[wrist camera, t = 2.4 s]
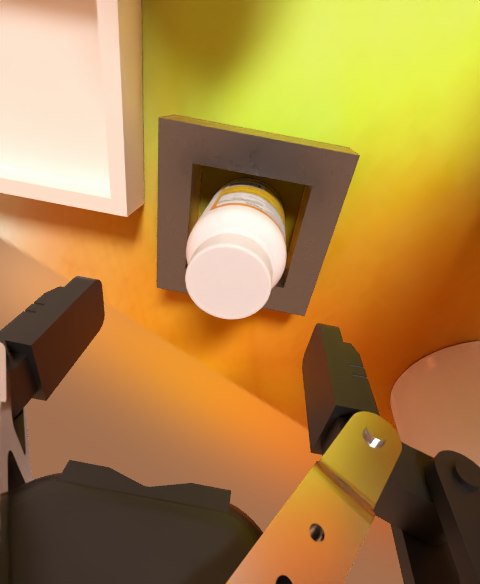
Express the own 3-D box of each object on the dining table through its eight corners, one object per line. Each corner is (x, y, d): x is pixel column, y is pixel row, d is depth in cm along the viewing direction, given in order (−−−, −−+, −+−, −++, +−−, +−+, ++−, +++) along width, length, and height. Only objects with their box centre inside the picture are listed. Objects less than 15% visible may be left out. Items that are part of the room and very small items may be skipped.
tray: (140, -53, 15) (113, -83, 13) (144, 203, 22) (127, 216, 20) (-114, -100, 15) (-191, -139, 13) (-31, 170, 22) (-70, 179, 20)
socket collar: (349, 147, 19) (359, 155, 17) (301, 293, 25) (304, 316, 22) (174, 114, 19) (158, 117, 17) (169, 268, 25) (156, 287, 23)
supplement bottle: (242, 263, 24) (222, 348, 16) (194, 209, 22) (145, 275, 14) (300, 222, 22) (311, 297, 14) (252, 159, 20) (234, 202, 12)
